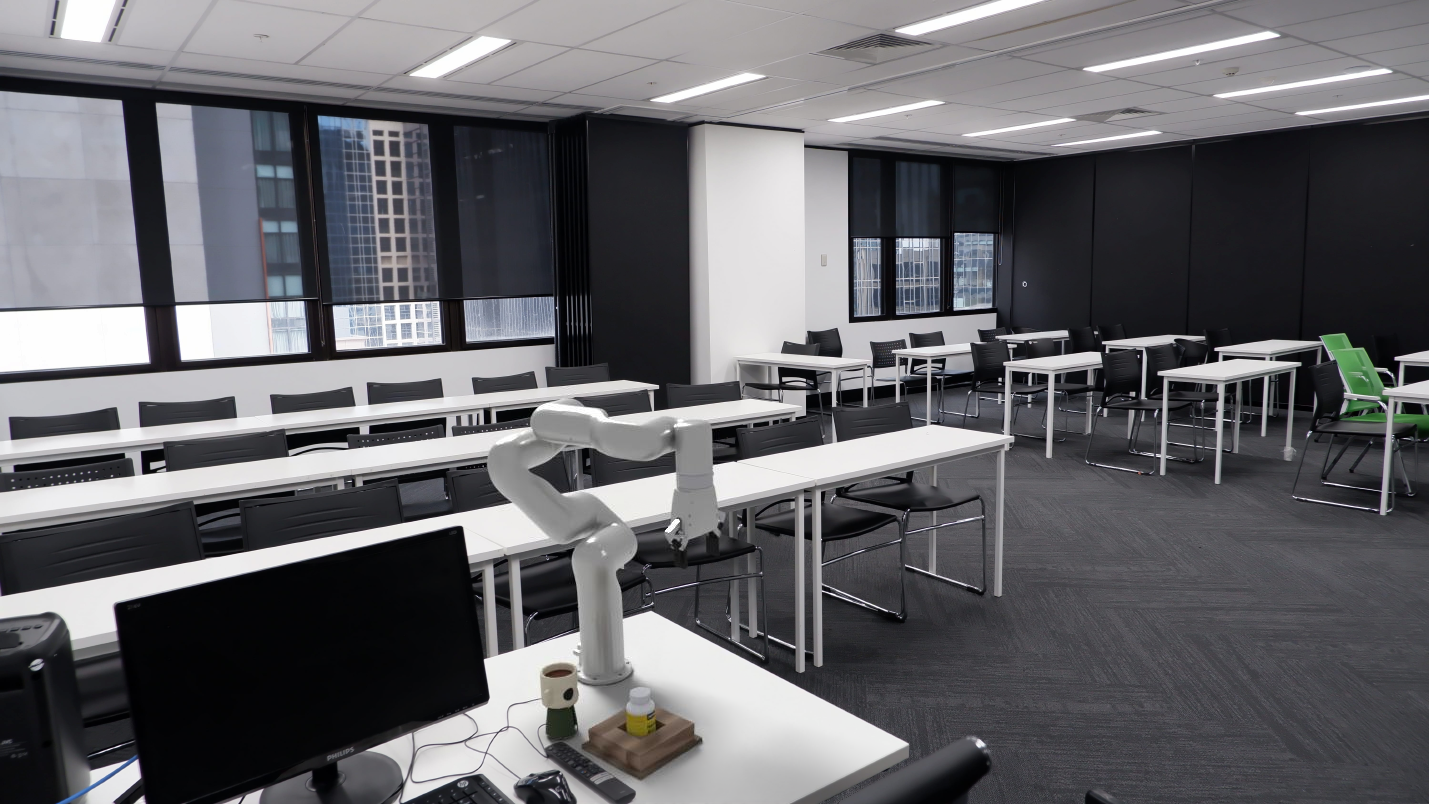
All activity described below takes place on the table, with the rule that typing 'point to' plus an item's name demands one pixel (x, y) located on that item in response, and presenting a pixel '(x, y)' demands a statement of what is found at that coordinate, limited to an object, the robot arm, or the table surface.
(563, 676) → the character mug
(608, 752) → the bottle holder
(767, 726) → the table surface
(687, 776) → the table surface
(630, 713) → the supplement bottle
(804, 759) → the table surface
